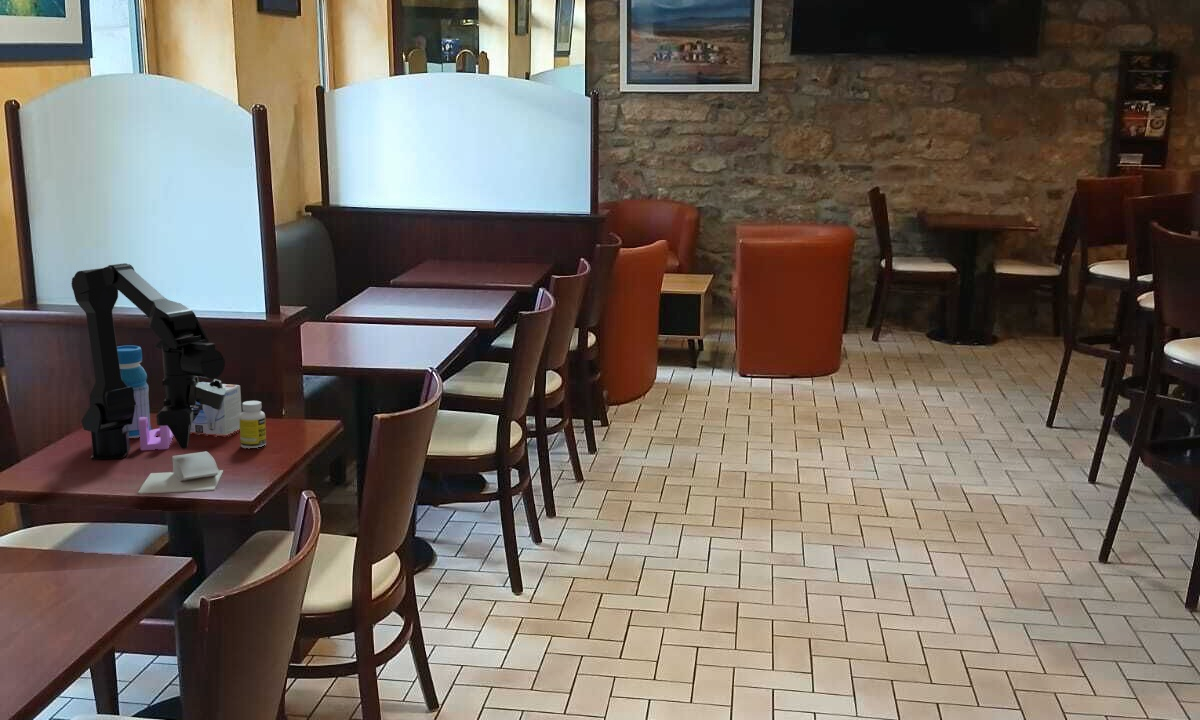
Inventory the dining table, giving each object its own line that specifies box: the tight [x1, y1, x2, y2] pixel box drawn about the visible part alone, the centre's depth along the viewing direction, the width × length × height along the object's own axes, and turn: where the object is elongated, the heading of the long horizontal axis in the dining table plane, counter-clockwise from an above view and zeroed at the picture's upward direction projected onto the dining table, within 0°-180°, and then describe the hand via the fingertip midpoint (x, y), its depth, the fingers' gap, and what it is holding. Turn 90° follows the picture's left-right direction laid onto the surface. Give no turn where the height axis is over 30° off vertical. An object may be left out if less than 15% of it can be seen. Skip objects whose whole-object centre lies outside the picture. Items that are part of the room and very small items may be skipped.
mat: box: [137, 469, 224, 495], centre depth 226 cm, size 14×12×1 cm
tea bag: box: [171, 450, 220, 482], centre depth 228 cm, size 4×7×10 cm
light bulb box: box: [190, 381, 243, 435], centre depth 261 cm, size 11×7×11 cm, turn 73°
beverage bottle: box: [117, 345, 152, 439], centre depth 257 cm, size 8×8×20 cm
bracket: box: [139, 417, 174, 451], centre depth 253 cm, size 13×6×7 cm, turn 13°
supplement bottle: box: [239, 400, 267, 450], centre depth 250 cm, size 5×5×10 cm
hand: (184, 448), depth 230 cm, fingers closed
